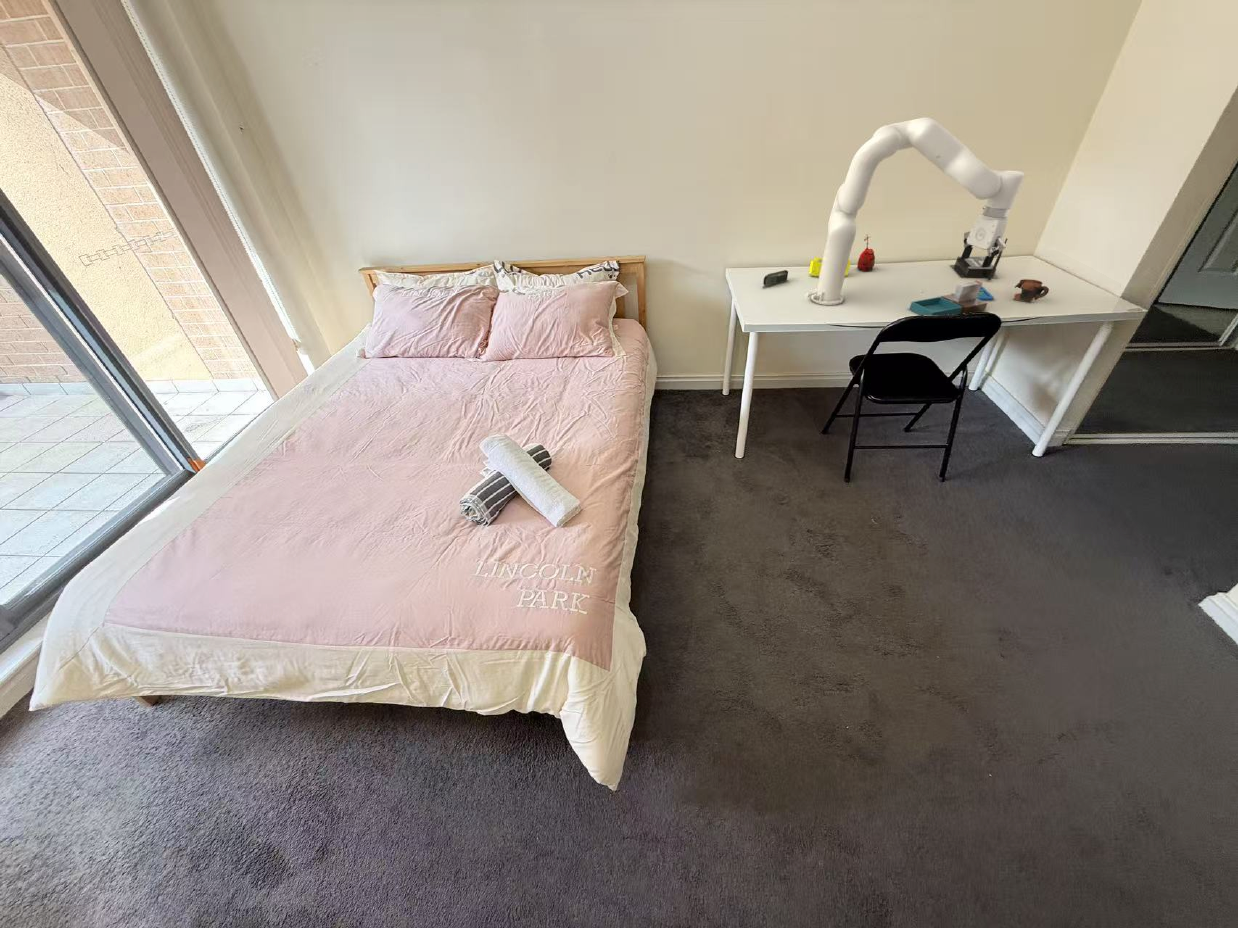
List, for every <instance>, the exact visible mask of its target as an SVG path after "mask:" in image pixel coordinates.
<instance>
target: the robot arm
mask: <svg viewBox="0 0 1238 928" xmlns="http://www.w3.org/2000/svg"><path fill="white" fill-rule="evenodd" d="M912 148H914V149H915V150H916V151H917V152H918V153H919V154H921V155H922V156H923V157H924V158H925V159H927V160H928V161H929V162H930V163H932V164H933V165H934V166H935V167H936V168H938V169H939V171H941V172H942V173H944V174H945V175H946V176H948V177H950V178H951V179H953V180H954V181H956V182H957V184H959V185H960V186H961V187H963V188H964V189H965V190H966V191H968V192H969V193H970V194H971V195H972V196H973V197H974V198H976V199H978V200H982V201H983V200H987V201H986V204H985V205H984V206H983V207H982V210H983V211H982V213H980V214H979V215H978V217H977V218H976V219H975V222H974V223H973V226H972V227H971V230H970V231H967V232H964V233H963V248H964V249H963V251H962V255H961V256H960V257H961V259H968V258H969V257H971V253H972V251H973V249H974V247H975V248H978V249H981V250H984V251H987V255H986V256H985V257H984V258H985V260H984V262H983V264H982V268H985V267H990V265H991V264H992V263H993V261H994V259H995V257H998V255H999V253H1001V252H1002V253H1003V251H1004V250H1005V249H1006V248H1007V243H1006V244H1005V243H1004V242H1005V241H1004V240H1003V237H1004V235H1005V232H1006V228H1007V224H1008V220H1009V219H1008V216H1009V214H1010V212H1011V210H1012V207H1013V205H1014V202H1015V201H1016V198H1017V196H1018V193H1019V191H1020V190H1021V186H1022V184H1023V182H1024V180H1025V173H1024V172H1022V171H1021V170H994V169H990V168H989V167H988V166H987V165H986V164H984V162H982V161H981V160H980V159H979V158H978V157H977V156H975V155H974V154H973V152H972V151H971V149H969V148H968V147H967V146H966V145H964V143H963V142H962V141H960V140H959V139H958V138H957V137H955V136H954V135H953V134H952V133H951V132H950V131H948V130H947V129H946V128H945V127H944V126H942V124H940V123H939V122H937V121H936V120H935V119H933V118H931V117H929V116H927V117H919V118H916V119H915V118H914V119H910V120H905V121H899V122H895V123H890V124H886V125H883V126H881V127H879V128H878V129H877V130H876V131H875V132H874V133H873V135H872V137H871V138H869V140H867V141H866V142H865V143H863V144H862V146H860V148H859V149H858V150H857V151H856V153H855V154H854V156H853V157H852V160H851V162H850V165H849V168H848V171H847V174H846V176H845V180H844V182H843V183H842V184H841V185H840V186H839V188H838V190H837V192H836V194H835V199H834V201H833V205H832V207H831V212H830V215H829V218H828V223H827V239H826V244H825V246H824V252H823V255H822V258H823V261H822V266H821V270H820V275H819V277H818V281H817V287H814V289H813V290H812V291H807V292H805V293H804V297H805V298H810V300H812V302H814V303H816V304H818V305H824V306H836V305H840V304H842V303H843V301H844V296H843V294H842V290H843V285H844V282H845V277H846V275H845V273H846V269H847V265H848V260H850V255H851V251H852V248H853V246H854V242H855V238H856V234H857V224H856V218H857V214H858V212H859V210H861V208H862V207H863V205H865V202H866V198H867V195H868V191H869V188H870V185H871V182H872V179H873V176H874V174H875V171H876V169H877V167H878V166H879V165H880V163H881V162H883V161H884V160H886V159H888V158H891V157H892V156H894V155H895V154H896V153H897V152H898V151H901V150H905V149H906V150H907V149H912Z"/></svg>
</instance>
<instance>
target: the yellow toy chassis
mask: <svg viewBox="0 0 1238 928" xmlns="http://www.w3.org/2000/svg"><path fill="white" fill-rule="evenodd" d="M822 261H823V257H815V258H813V259H812V260H811V261H810V264H809V269H808V273H809V274H810V276H811V277H815V278H819V275H820V270H821V266H822ZM851 263H852V261H851V260H850V259H849V260H848V265H847V269H846V273H845V276H848V274H849V270H850V266H851Z"/></svg>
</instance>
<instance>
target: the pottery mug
mask: <svg viewBox="0 0 1238 928" xmlns="http://www.w3.org/2000/svg"><path fill="white" fill-rule="evenodd" d="M1043 284H1044V283H1043V281H1041V280H1037V279H1030V278H1029V279H1028V278H1027V279H1026V278H1023V279H1020V280H1019V282H1018V283H1017V284H1016V285H1015V286H1013V287H1014V289H1016V288H1018V289H1021V290H1020V291H1021V292H1020V293H1015V295H1014V298H1013V300H1014V301H1023V302H1027V303H1031V302H1032V301H1033V300H1035V301H1037V300H1039V299H1042V298H1044V297H1046V296H1047V295H1048V294H1049V291H1050V288H1049V287H1048V286H1045V285H1043Z"/></svg>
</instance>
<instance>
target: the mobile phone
mask: <svg viewBox="0 0 1238 928" xmlns="http://www.w3.org/2000/svg"><path fill="white" fill-rule="evenodd" d="M788 276H789V270H787V269H784V270H779V271H775V272H770V273H767V274H766V275H764V277H763V280H762V281H763V282H762V285H763V286H762V289H764V288H767V287H771V286H774V285H778V284H779V285H780V284H783V283H786V282H787V281H788Z"/></svg>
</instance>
